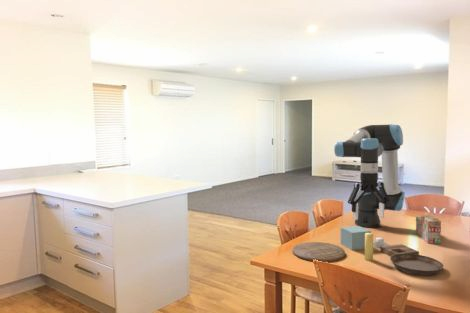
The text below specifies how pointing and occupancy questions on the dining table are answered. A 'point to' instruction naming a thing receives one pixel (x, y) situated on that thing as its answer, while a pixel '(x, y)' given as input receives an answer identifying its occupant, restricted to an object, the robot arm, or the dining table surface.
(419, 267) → the plant saucer
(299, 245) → the trivet
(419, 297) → the dining table surface
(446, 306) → the dining table surface
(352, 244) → the block
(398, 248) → the socket board
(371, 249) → the peg
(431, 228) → the printed food box
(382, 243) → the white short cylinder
